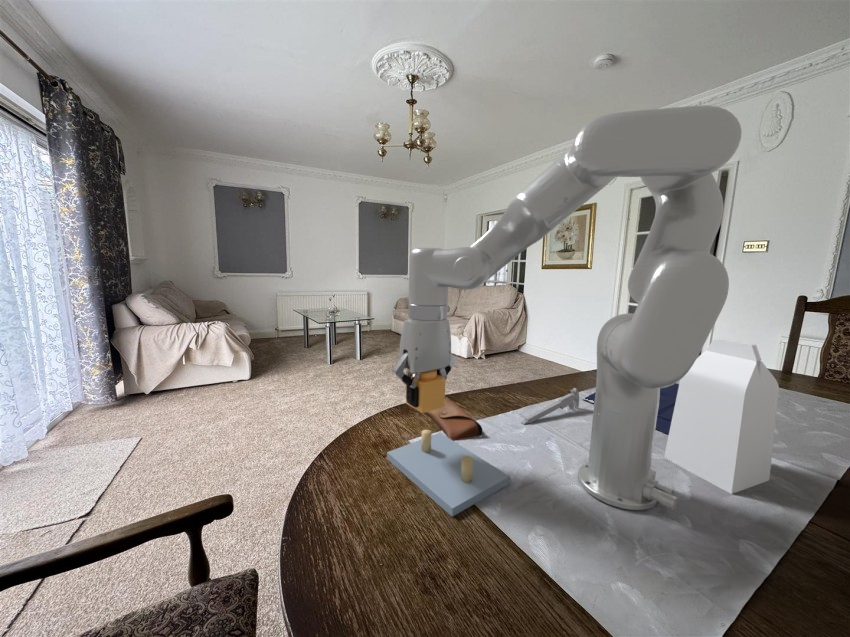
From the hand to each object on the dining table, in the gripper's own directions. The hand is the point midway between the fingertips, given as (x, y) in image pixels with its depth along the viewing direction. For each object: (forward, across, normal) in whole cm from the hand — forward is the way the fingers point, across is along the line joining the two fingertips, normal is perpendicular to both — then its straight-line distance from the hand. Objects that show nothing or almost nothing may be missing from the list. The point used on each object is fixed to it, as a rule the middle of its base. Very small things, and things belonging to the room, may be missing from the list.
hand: (425, 400), depth 69 cm
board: (+12, 0, +6) cm, 14 cm away
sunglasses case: (+13, -15, -8) cm, 21 cm away
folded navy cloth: (+12, -69, +18) cm, 72 cm away
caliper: (+12, -39, +4) cm, 41 cm away
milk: (+12, -44, +37) cm, 59 cm away
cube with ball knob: (+1, 0, 0) cm, 1 cm away
